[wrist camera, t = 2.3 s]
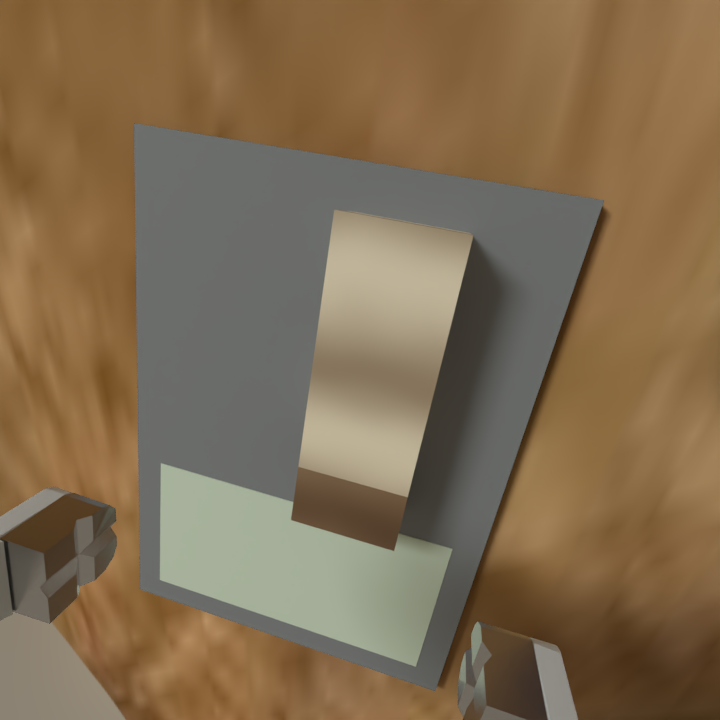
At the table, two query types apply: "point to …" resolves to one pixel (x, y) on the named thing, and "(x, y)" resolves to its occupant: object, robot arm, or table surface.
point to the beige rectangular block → (375, 371)
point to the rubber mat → (292, 381)
